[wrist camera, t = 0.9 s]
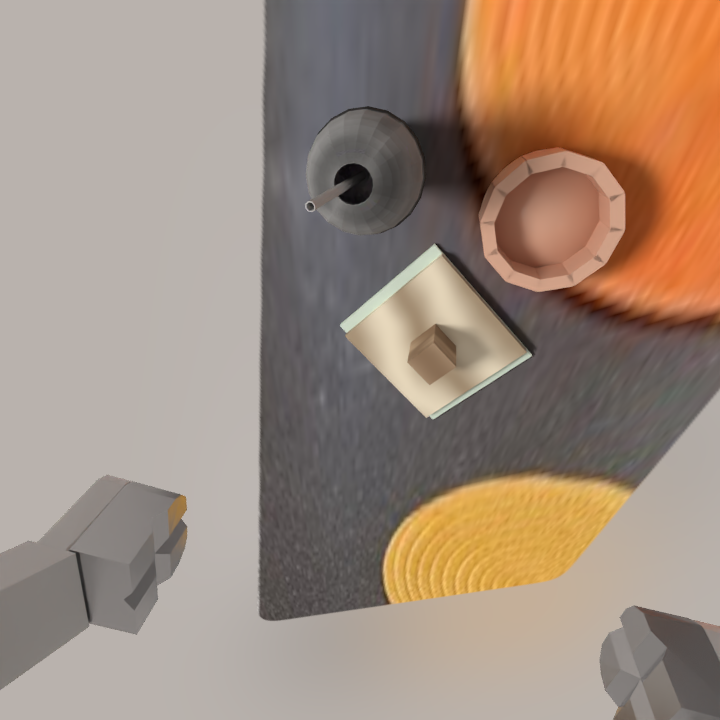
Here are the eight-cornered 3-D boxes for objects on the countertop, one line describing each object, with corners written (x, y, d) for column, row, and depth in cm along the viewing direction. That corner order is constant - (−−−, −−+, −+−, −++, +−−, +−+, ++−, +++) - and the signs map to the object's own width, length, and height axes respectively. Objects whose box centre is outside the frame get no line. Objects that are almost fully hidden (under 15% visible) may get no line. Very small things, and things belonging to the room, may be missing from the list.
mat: (434, 243, 41) (434, 244, 41) (531, 353, 45) (532, 355, 44) (340, 323, 47) (339, 325, 46) (433, 417, 50) (432, 419, 50)
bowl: (561, 117, 35) (572, 120, 32) (635, 219, 38) (653, 231, 34) (454, 210, 40) (454, 221, 36) (526, 296, 42) (533, 314, 39)
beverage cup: (442, 189, 39) (430, 259, 22) (358, 211, 41) (288, 291, 24) (423, 91, 36) (392, 84, 19) (333, 120, 38) (233, 137, 21)
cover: (442, 253, 41) (440, 270, 37) (525, 348, 44) (532, 374, 40) (346, 332, 47) (336, 355, 42) (426, 413, 49) (424, 442, 45)
